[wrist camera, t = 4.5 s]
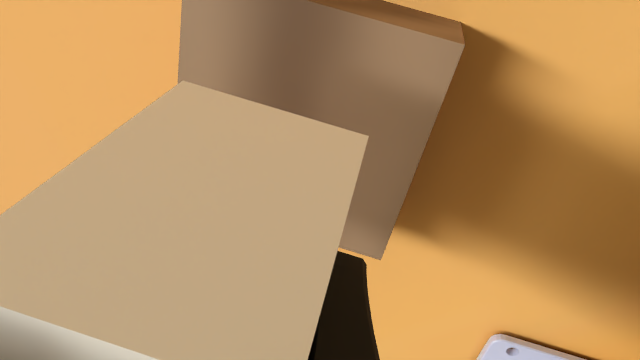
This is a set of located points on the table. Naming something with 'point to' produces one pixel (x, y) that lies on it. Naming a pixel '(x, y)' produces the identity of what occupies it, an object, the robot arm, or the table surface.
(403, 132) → the walnut base
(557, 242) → the table surface
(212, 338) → the offwhite block
